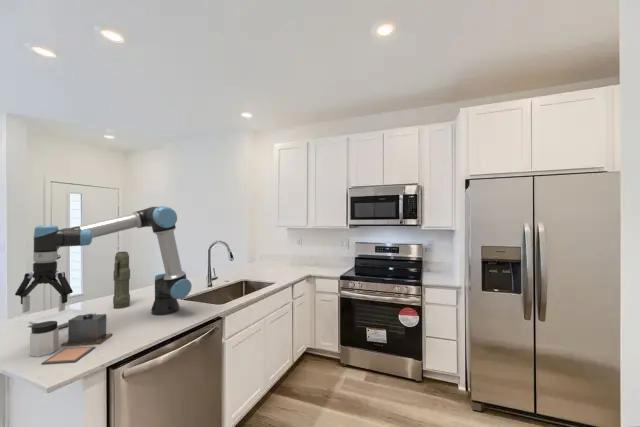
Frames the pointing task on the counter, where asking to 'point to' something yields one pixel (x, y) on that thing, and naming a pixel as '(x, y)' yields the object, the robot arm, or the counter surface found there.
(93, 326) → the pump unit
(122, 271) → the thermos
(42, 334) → the jar
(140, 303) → the counter surface
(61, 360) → the mat
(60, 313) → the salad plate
